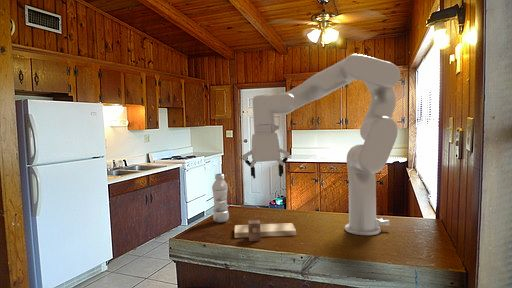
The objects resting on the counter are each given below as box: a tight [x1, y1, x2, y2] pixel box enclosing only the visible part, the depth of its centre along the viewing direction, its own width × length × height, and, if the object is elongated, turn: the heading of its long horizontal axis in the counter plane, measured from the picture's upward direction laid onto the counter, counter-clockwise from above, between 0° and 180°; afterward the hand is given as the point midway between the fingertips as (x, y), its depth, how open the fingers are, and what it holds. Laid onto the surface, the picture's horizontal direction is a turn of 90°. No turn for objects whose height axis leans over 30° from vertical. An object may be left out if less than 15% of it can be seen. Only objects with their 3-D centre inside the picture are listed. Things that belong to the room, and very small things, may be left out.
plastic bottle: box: [211, 173, 230, 223], centre depth 136 cm, size 6×7×20 cm
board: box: [234, 222, 297, 239], centre depth 121 cm, size 22×9×2 cm, turn 93°
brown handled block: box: [247, 219, 262, 242], centre depth 118 cm, size 4×13×6 cm, turn 3°
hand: (267, 177), depth 119 cm, fingers open, 9 cm apart
